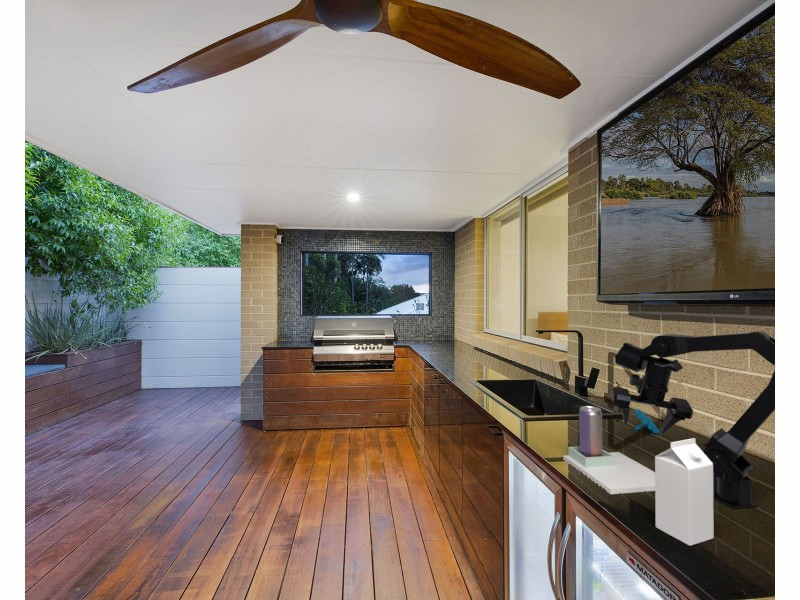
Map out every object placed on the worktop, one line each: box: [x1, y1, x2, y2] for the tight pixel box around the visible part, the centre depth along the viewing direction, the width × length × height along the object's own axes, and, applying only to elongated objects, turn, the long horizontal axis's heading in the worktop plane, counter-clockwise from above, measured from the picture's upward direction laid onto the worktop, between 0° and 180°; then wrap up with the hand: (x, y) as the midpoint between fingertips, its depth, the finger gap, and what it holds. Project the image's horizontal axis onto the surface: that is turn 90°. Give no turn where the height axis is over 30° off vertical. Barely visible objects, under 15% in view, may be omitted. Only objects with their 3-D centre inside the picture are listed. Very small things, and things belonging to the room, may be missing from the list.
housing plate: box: [562, 445, 655, 495], centre depth 113 cm, size 22×18×4 cm
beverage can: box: [578, 405, 603, 457], centre depth 119 cm, size 6×6×15 cm
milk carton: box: [654, 437, 715, 547], centre depth 84 cm, size 7×7×19 cm
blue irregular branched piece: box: [634, 408, 661, 435], centre depth 148 cm, size 11×6×10 cm
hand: (643, 428), depth 115 cm, fingers open, 9 cm apart
